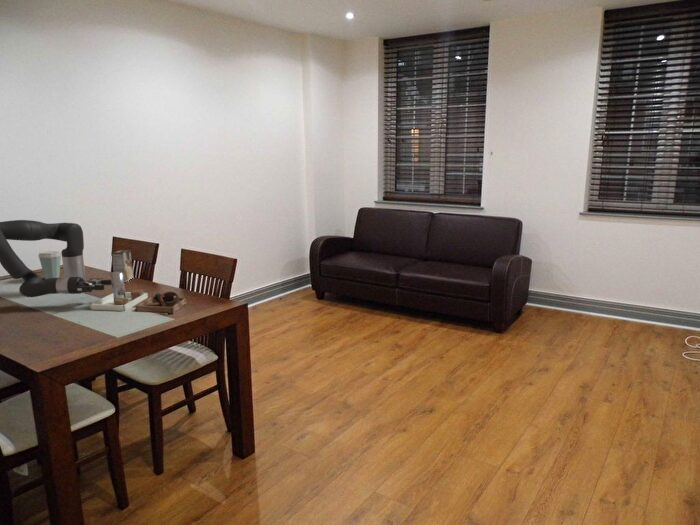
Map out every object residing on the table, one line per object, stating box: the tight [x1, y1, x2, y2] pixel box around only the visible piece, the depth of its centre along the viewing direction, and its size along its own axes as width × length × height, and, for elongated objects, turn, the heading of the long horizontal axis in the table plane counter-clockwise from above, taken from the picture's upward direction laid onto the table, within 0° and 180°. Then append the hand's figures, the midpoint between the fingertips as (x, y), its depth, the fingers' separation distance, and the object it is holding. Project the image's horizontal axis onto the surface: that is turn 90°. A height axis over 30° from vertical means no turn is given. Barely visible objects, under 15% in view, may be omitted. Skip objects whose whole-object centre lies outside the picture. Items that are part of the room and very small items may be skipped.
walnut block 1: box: [114, 298, 129, 305], centre depth 221 cm, size 4×4×4 cm
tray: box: [89, 291, 149, 312], centre depth 228 cm, size 20×16×3 cm
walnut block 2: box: [130, 289, 144, 300], centre depth 234 cm, size 4×4×4 cm
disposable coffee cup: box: [38, 250, 62, 280], centre depth 271 cm, size 11×11×15 cm
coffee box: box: [111, 249, 135, 283], centre depth 268 cm, size 9×6×16 cm
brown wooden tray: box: [135, 296, 188, 314], centre depth 224 cm, size 15×17×3 cm
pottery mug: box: [153, 290, 180, 307], centre depth 225 cm, size 12×10×8 cm
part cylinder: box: [110, 271, 126, 304], centre depth 227 cm, size 5×5×14 cm
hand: (107, 284), depth 227 cm, fingers open, 8 cm apart
